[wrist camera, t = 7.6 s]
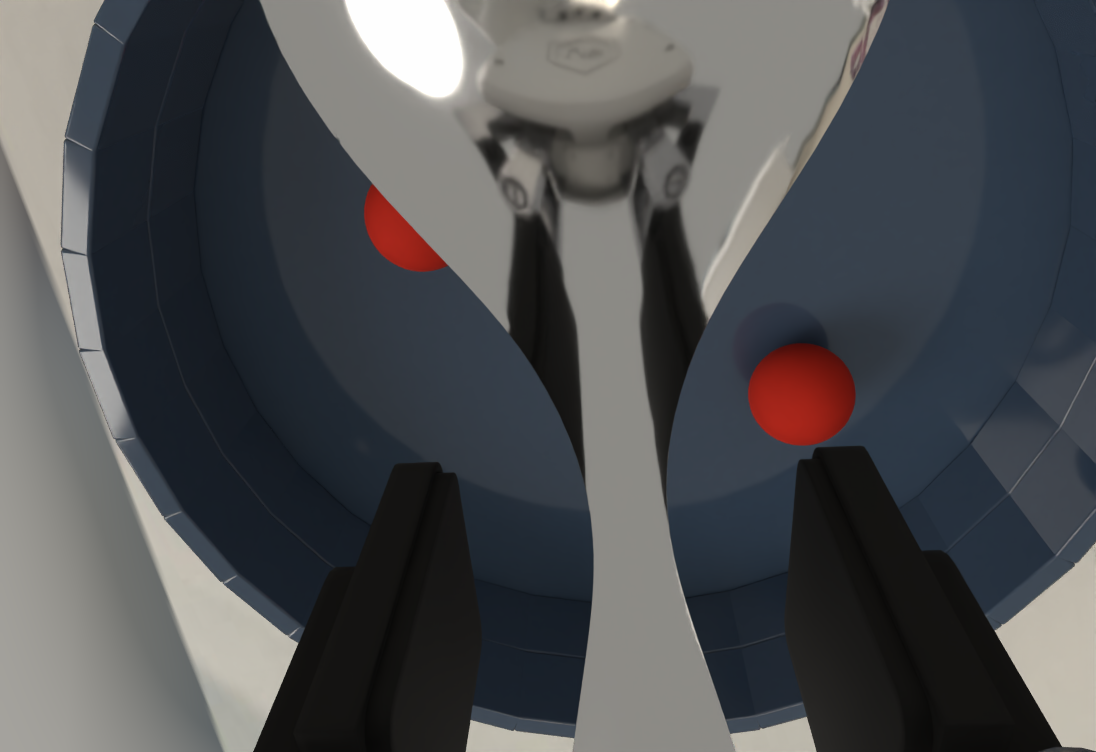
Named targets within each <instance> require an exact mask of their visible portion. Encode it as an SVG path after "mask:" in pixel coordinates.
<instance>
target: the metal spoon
mask: <svg viewBox="0 0 1096 752" xmlns="http://www.w3.org/2000/svg"><path fill="white" fill-rule="evenodd" d="M258 1H259V3H260V6H261V8H262V11H263V13H264V16H265V18H266V21H267V23H268V25H269V27H270V29H271V32H272V34H273V36H274V38H275V40H276V42H277V44H278V46H279V48H280V50H281V53H282V55H283V56H284V58H285V60H286V62H287V63H288V65H289V67H290V69H291V71H292V72H293V74H294V76H295V78H296V80H297V81H298V83H299V85H300V87H301V88H302V90H303V91H304V93H305V95H306V96H307V98H308V99H309V101H310V102H311V104H312V105H313V107H314V108H315V110H316V111H317V113H318V114H319V115H320V117H321V118H322V120H323V121H324V123H325V124H326V126H327V127H328V129H329V130H330V131H331V133H332V134H333V135H334V137H335V138H336V139H337V140H338V142H339V143H340V144H341V146H342V147H343V148H344V150H345V151H346V152H347V153H348V155H349V156H350V157H351V159H352V160H353V161H354V162H355V164H356V165H357V166H358V167H359V168H360V169H361V171H362V172H363V173H364V174H365V175H366V176H367V178H368V179H369V180H370V181H371V182H372V183H373V185H374V186H375V187H376V188H377V189H378V190H379V192H380V193H381V194H382V195H383V196H384V197H385V198H386V200H387V201H388V202H389V203H390V204H391V205H392V206H393V207H394V208H395V209H396V210H397V211H398V212H399V214H400V215H401V216H402V217H403V218H404V219H405V220H406V221H407V222H408V223H409V224H410V225H411V226H412V228H413V229H414V230H415V231H416V232H417V233H418V234H419V235H420V236H421V237H422V238H423V239H424V240H425V241H426V243H427V244H428V245H429V246H430V247H431V248H432V249H433V250H434V251H435V252H436V253H437V254H438V255H439V256H440V257H441V258H442V259H443V260H444V261H445V263H446V264H447V265H448V266H449V267H450V268H451V269H452V270H453V271H454V272H455V273H456V274H457V275H458V276H459V277H460V278H461V279H462V280H463V282H464V283H465V284H466V285H467V286H468V287H469V288H470V289H471V290H472V291H473V293H474V294H475V295H476V296H477V297H478V298H479V299H480V300H481V301H482V302H483V304H484V305H485V306H486V307H487V308H488V309H489V311H490V312H491V313H492V314H493V315H494V316H495V318H496V319H497V320H498V321H499V322H500V324H501V325H502V326H503V327H504V328H505V330H506V331H507V332H508V334H509V335H510V336H511V338H512V339H513V340H514V341H515V343H516V344H517V345H518V347H519V348H520V349H521V351H522V352H523V354H524V355H525V357H526V358H527V360H528V361H529V363H530V364H531V366H532V367H533V369H534V370H535V372H536V374H537V375H538V377H539V379H540V380H541V382H542V384H543V385H544V387H545V389H546V390H547V392H548V394H549V396H550V398H551V400H552V402H553V404H554V406H555V407H556V409H557V411H558V413H559V415H560V418H561V420H562V422H563V425H564V427H565V429H566V431H567V434H568V436H569V438H570V441H571V444H572V447H573V449H574V452H575V455H576V458H577V461H578V464H579V467H580V471H581V474H582V478H583V481H584V485H585V490H586V494H587V500H588V505H589V511H590V517H591V527H592V536H593V554H594V570H593V596H592V608H591V618H590V627H589V636H588V644H587V652H586V659H585V666H584V673H583V681H582V688H581V695H580V702H579V709H578V716H577V723H576V731H575V738H574V745H573V752H736V751H735V748H734V745H733V742H732V738H731V735H730V732H729V729H728V726H727V723H726V720H725V717H724V714H723V711H722V708H721V705H720V702H719V699H718V696H717V693H716V690H715V687H714V685H713V682H712V679H711V676H710V673H709V670H708V667H707V664H706V661H705V658H704V655H703V652H702V649H701V646H700V643H699V641H698V638H697V635H696V632H695V629H694V626H693V623H692V619H691V616H690V613H689V610H688V607H687V604H686V600H685V597H684V594H683V590H682V586H681V583H680V579H679V575H678V571H677V567H676V563H675V558H674V553H673V548H672V542H671V536H670V529H669V520H668V510H667V466H668V453H669V446H670V439H671V432H672V427H673V422H674V417H675V413H676V409H677V405H678V401H679V397H680V393H681V390H682V387H683V384H684V381H685V378H686V374H687V371H688V368H689V366H690V363H691V361H692V358H693V356H694V353H695V350H696V348H697V345H698V343H699V341H700V339H701V337H702V334H703V332H704V330H705V328H706V326H707V324H708V322H709V320H710V318H711V316H712V314H713V312H714V310H715V308H716V307H717V305H718V303H719V301H720V299H721V297H722V296H723V294H724V292H725V290H726V289H727V287H728V285H729V284H730V282H731V280H732V279H733V277H734V275H735V274H736V272H737V270H738V269H739V267H740V265H741V264H742V262H743V261H744V259H745V258H746V256H747V254H748V253H749V251H750V250H751V248H752V247H753V245H754V243H755V242H756V240H757V239H758V237H759V236H760V234H761V233H762V231H763V229H764V228H765V226H766V225H767V223H768V222H769V220H770V219H771V217H772V216H773V214H774V213H775V211H776V210H777V208H778V207H779V205H780V203H781V202H782V200H783V199H784V197H785V196H786V194H787V193H788V191H789V190H790V188H791V186H792V185H793V183H794V182H795V180H796V179H797V177H798V175H799V174H800V172H801V171H802V169H803V168H804V166H805V165H806V163H807V161H808V160H809V158H810V157H811V155H812V154H813V152H814V150H815V149H816V147H817V145H818V144H819V142H820V140H821V138H822V137H823V135H824V133H825V132H826V130H827V128H828V127H829V125H830V123H831V121H832V120H833V118H834V116H835V115H836V113H837V111H838V110H839V108H840V106H841V104H842V102H843V100H844V98H845V96H846V95H847V93H848V91H849V89H850V87H851V85H852V83H853V81H854V79H855V77H856V76H857V74H858V72H859V70H860V68H861V66H862V63H863V61H864V59H865V57H866V55H867V53H868V50H869V48H870V46H871V44H872V42H873V39H874V37H875V35H876V33H877V31H878V28H879V26H880V23H881V21H882V18H883V16H884V13H885V11H886V8H887V6H888V3H889V0H258Z"/></svg>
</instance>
